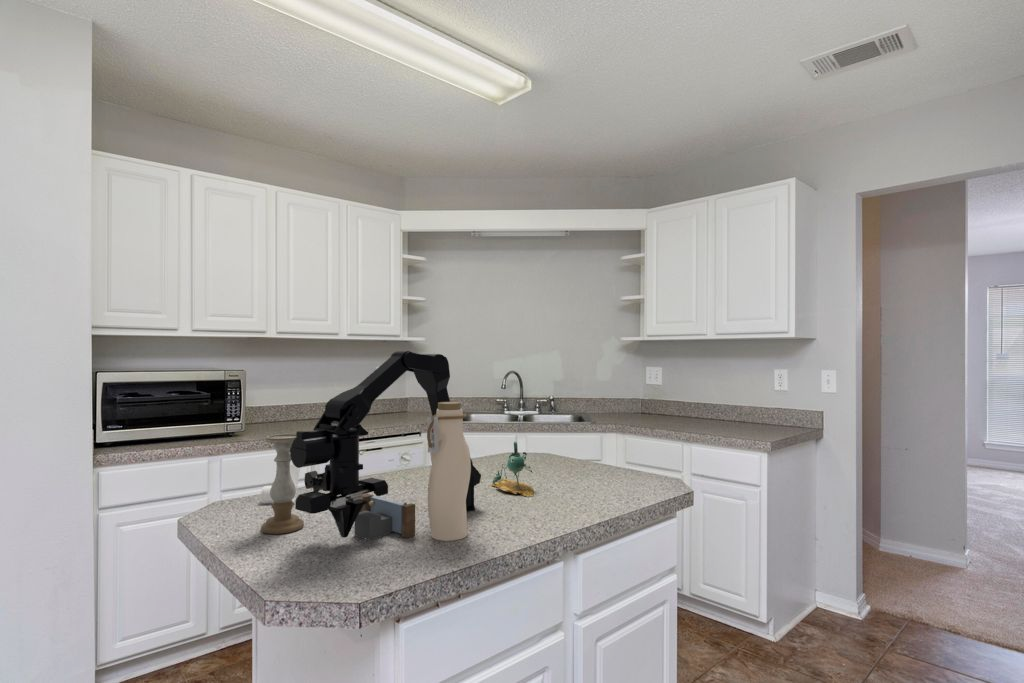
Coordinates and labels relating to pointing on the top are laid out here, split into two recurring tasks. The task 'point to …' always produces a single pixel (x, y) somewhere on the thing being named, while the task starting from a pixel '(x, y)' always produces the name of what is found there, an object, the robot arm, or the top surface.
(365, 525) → the dark grey stepped block
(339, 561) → the top surface
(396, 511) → the door
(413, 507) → the frame
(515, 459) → the frog figurine
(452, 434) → the water bottle
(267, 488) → the plastic part
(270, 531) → the candle holder
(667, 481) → the top surface
